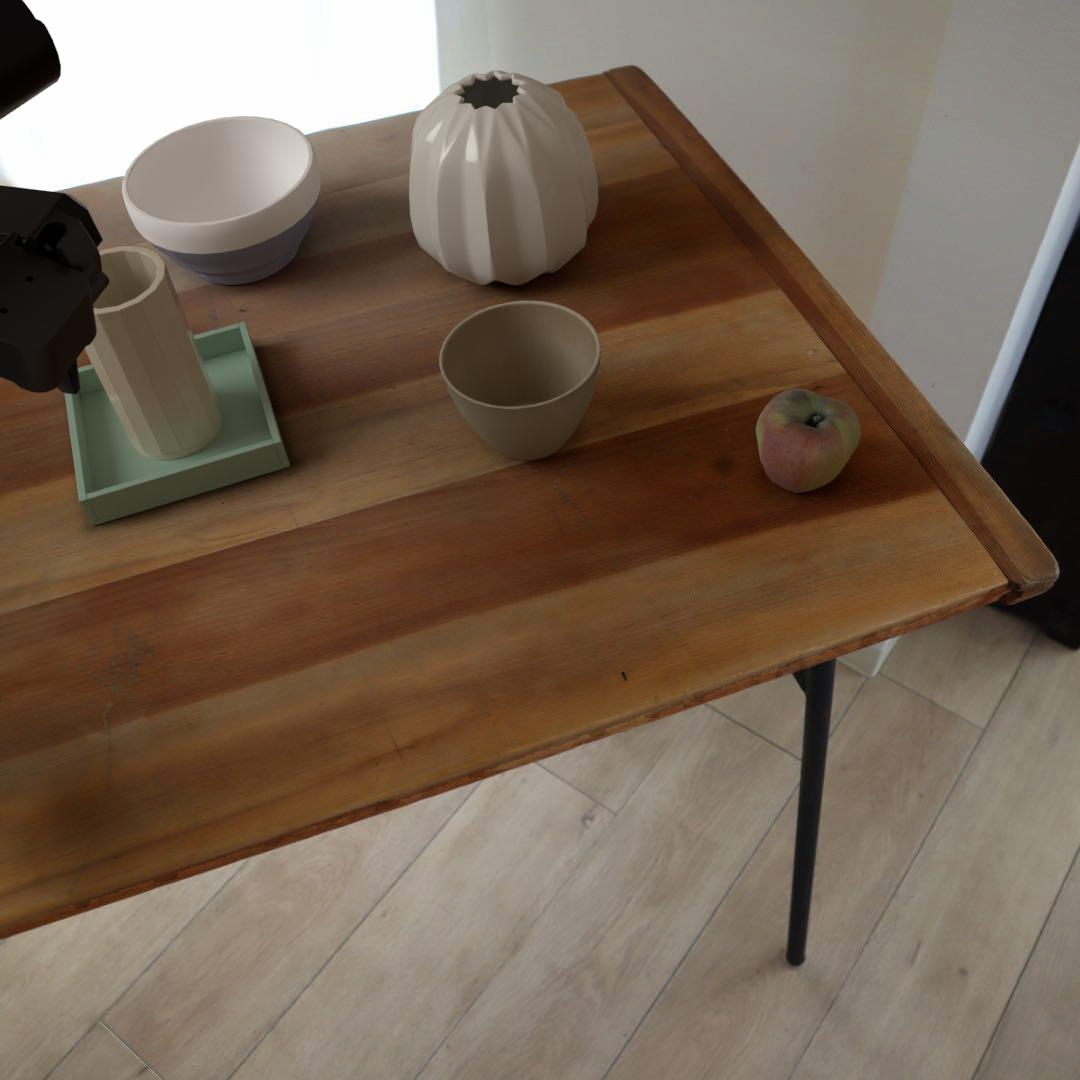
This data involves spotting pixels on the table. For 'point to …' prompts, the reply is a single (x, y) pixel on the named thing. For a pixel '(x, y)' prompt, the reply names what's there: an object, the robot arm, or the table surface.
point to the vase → (501, 179)
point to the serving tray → (142, 483)
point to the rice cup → (151, 358)
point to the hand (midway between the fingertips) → (25, 454)
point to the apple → (806, 439)
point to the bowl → (226, 196)
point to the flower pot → (522, 375)
